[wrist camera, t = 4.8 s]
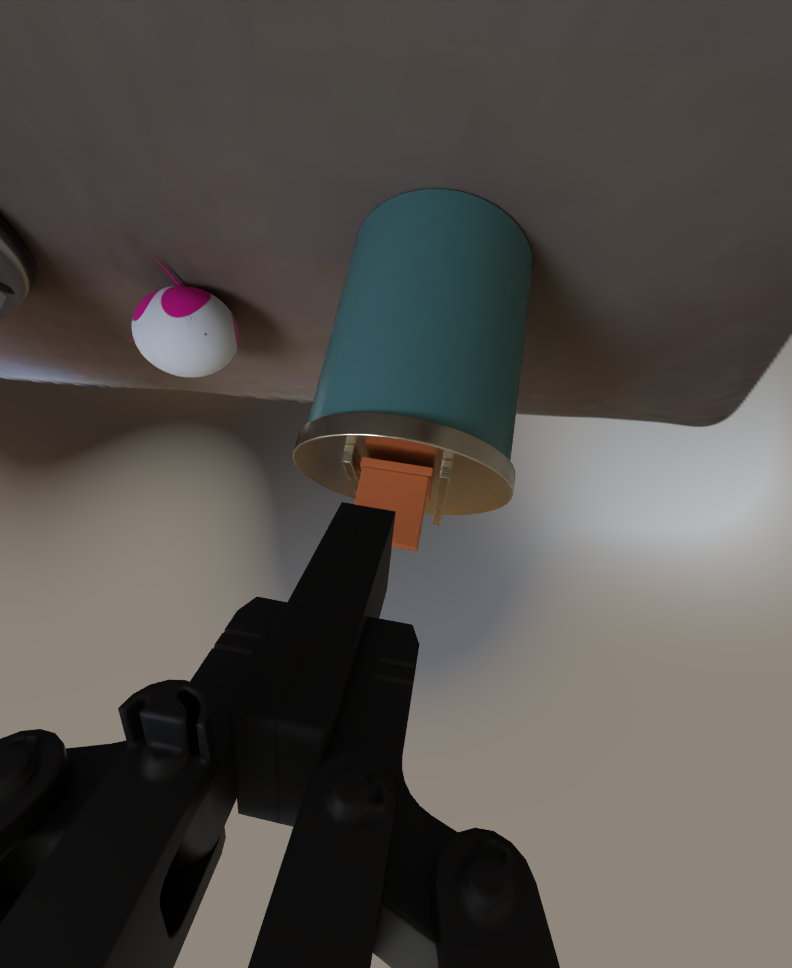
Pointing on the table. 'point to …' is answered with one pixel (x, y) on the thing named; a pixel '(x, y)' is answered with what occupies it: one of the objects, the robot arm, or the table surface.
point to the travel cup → (426, 352)
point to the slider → (396, 495)
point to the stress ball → (185, 331)
